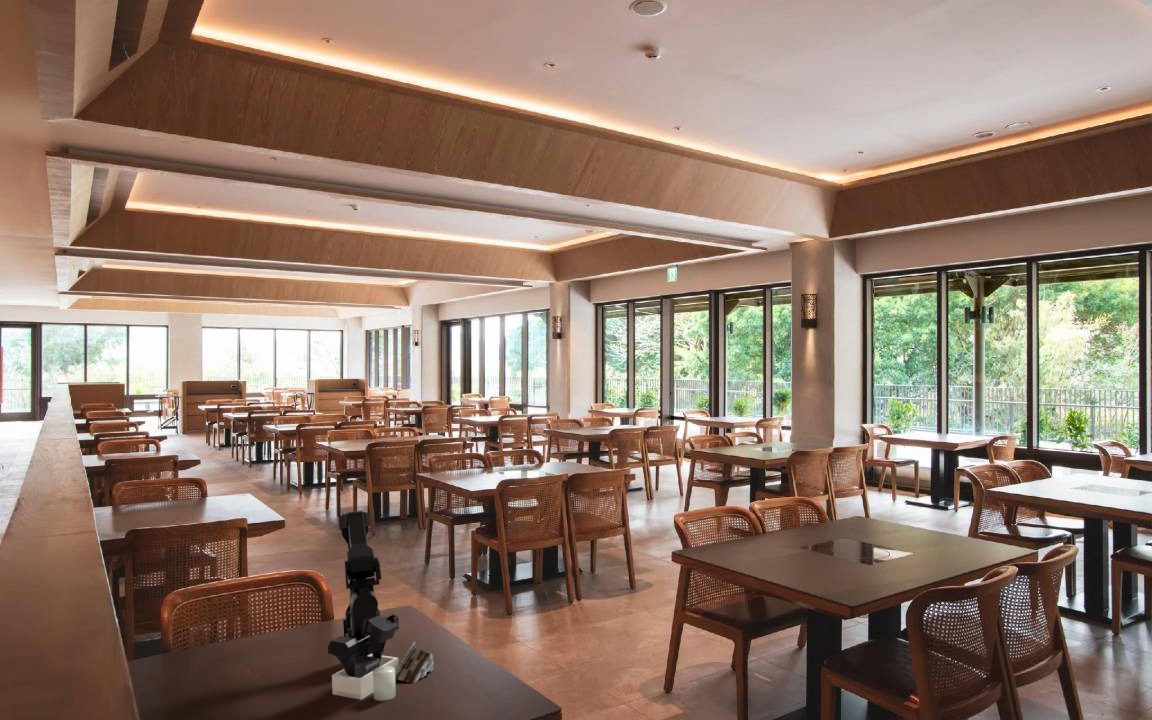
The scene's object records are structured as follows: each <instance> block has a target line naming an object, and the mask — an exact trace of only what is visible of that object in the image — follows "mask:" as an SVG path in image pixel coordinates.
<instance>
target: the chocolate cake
mask: <svg viewBox="0 0 1152 720" xmlns="http://www.w3.org/2000/svg"><path fill="white" fill-rule="evenodd" d="M433 655H434V654H432V652H429V651H425V650H422V649H421V648H420V649H419V648H418V647H417V646H416V640H414V641H413V642H412V644H411V646H410V647H409V649H408V650H407V651H406V653H405V655H404V657H403V658H402V660H401V661H400V663H399V666H398V668H397V669H396V671H395V684H396V683H398V681H401V682H404V683H405V682H406V683H408V684H414V683H416V682H418V681H419V679H426V678H428V675H427V673H432V671H433V670H434V663H435V662H434V659H433Z"/></svg>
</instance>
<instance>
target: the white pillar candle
mask: <svg viewBox="0 0 1152 720" xmlns="http://www.w3.org/2000/svg"><path fill="white" fill-rule="evenodd" d="M396 695H397V691H396V683H395V668H394V667H392V666H383V667H379V668H376V669H374V670H373V699H374V700H375V701H378V702H383V701H389V700H392V699H394V698H395V697H396Z"/></svg>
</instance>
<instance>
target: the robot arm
mask: <svg viewBox="0 0 1152 720" xmlns="http://www.w3.org/2000/svg"><path fill="white" fill-rule="evenodd" d="M371 523H372V522H371V512H366V511H363V510H356V511H348V512H346V513H342V515H338V516H337V529H338V532H340V538H341V540H342V541H343V543H344V544H345V545H346V547H347V550H346V560H344V561H343V563H344V580H345V589H347V590H349V604H348V606H347V608H346V610H345V613H344V617H345V618H344V619H342V635H341V636H338V637H335V638H334V639H331V640H330V641H329V642H328V644H327V654H328V655H332V656H334V657H335V658H336V659H338V661H339V662H340V664H341V666H342V667H343V669H345V671H346V673H347V675H348V676H349V677H354V675H355V660H356V659H358V658H360V657H361V656H368V655H370V654H373V657H376V658H379V662H380V660H381V657H382V655H383V653H384V650H385V646H386V643H387V641H389V640H391V639H393V638H394V635H395V632H396V631H398V630H399V629H400V625H399V624H400V620H399V615H397V614H395V613H392V614H390V615H389V616H383V617H382V616H381V614H380V613H381V612H380V610H379V602H378V599H377V595H376V593H375V586H378V585H379V586H380V580H382V571H381V562H380V560H379V558H378V557H377V556H375V553H374V548H372V547H370V546H369V545H368V540H367V537H368V534H369V529H371V527H372V524H371Z"/></svg>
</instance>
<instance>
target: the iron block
mask: <svg viewBox="0 0 1152 720" xmlns="http://www.w3.org/2000/svg"><path fill="white" fill-rule="evenodd" d="M379 667H380V662H379V658H376V657H369V656H361V657H360V658H358V659H356V660H355V675H354V677H355V678H361V677H363V676H365V675H367V674H368V673H370V672H372V671H373V670H374V669H376V668H379Z"/></svg>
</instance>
